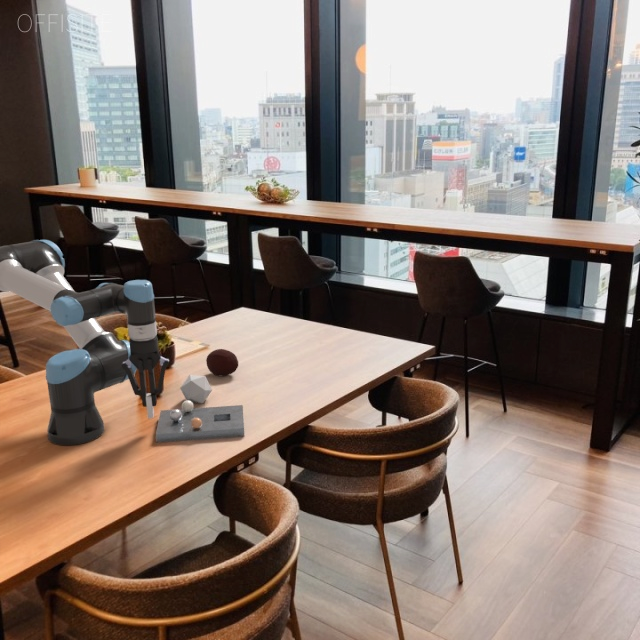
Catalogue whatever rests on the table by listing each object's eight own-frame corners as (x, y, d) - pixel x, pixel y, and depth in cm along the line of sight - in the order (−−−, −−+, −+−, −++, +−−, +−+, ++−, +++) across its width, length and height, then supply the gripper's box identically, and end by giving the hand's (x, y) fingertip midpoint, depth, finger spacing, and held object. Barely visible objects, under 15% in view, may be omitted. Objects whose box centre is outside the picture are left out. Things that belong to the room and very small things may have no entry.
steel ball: (169, 423, 195) (168, 412, 194) (170, 418, 198) (169, 407, 197) (181, 422, 196) (181, 411, 195) (182, 417, 199) (181, 407, 198)
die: (217, 399, 220) (204, 370, 222) (213, 396, 211) (200, 366, 213) (192, 410, 219) (179, 382, 221) (187, 408, 210) (174, 378, 212)
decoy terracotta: (191, 430, 191) (190, 420, 190) (191, 426, 194) (190, 416, 193) (202, 430, 191) (201, 420, 190) (202, 425, 194) (201, 415, 193)
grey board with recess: (156, 442, 190) (155, 434, 189) (161, 418, 205) (160, 410, 204) (244, 436, 192) (244, 428, 192) (242, 412, 208) (242, 405, 207)
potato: (215, 368, 244) (213, 343, 241) (244, 373, 239) (243, 348, 237) (201, 377, 236) (199, 351, 234) (231, 382, 232) (229, 355, 229)
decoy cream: (181, 414, 201) (180, 403, 200) (182, 409, 205) (181, 398, 204) (193, 413, 202) (192, 402, 201) (194, 408, 205) (193, 398, 204)
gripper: (116, 342, 184) (125, 423, 191) (166, 339, 186) (173, 420, 193) (120, 334, 192) (129, 412, 198) (168, 331, 193) (175, 409, 200)
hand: (150, 416), depth 196 cm, fingers closed
